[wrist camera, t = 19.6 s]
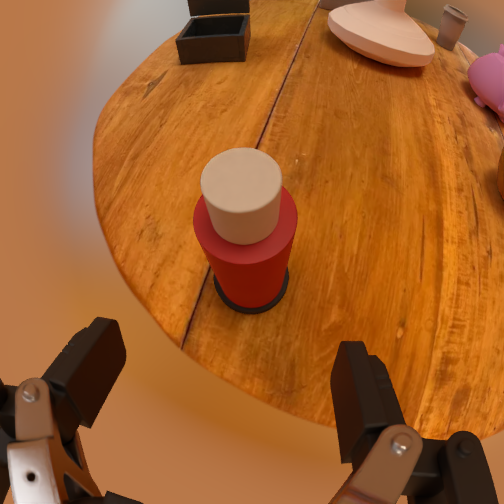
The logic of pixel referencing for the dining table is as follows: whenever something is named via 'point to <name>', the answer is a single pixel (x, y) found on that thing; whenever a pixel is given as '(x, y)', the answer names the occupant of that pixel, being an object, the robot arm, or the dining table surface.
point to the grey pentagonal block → (338, 3)
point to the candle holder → (382, 32)
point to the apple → (501, 175)
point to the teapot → (489, 81)
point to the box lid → (217, 7)
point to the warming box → (214, 39)
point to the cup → (451, 27)
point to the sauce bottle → (245, 225)
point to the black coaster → (252, 310)
